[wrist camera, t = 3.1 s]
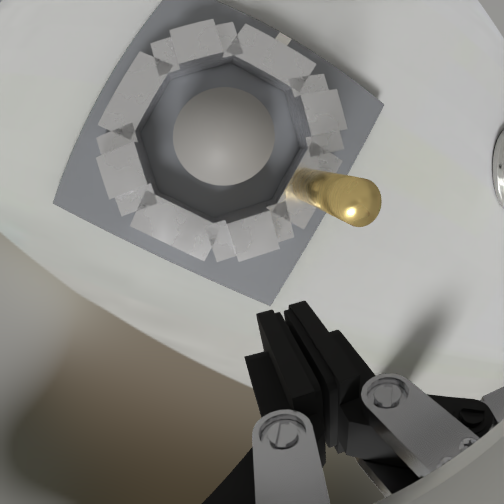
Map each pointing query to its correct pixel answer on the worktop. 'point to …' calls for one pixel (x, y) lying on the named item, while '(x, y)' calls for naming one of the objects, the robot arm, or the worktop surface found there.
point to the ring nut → (292, 185)
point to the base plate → (186, 185)
